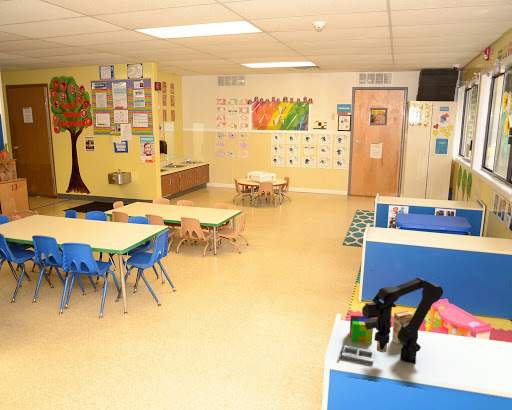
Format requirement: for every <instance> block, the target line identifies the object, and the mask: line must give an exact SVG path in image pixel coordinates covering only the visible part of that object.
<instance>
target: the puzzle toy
mask: <svg viewBox="0 0 512 410" xmlns="http://www.w3.org/2000/svg"><path fill="white" fill-rule="evenodd" d="M368 319H372V318H368ZM365 320H366V318H364V316H363V315H350V321H349V323H350V324H349V336H350V339H351V343H357V342H358V343H360V344H361V343H362V344H373V334H374V333H373V331H374V329H369V330H367V329H366V328H365Z"/></svg>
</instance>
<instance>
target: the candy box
mask: <svg viewBox="0 0 512 410" xmlns="http://www.w3.org/2000/svg"><path fill="white" fill-rule="evenodd" d="M413 315H414V313H412V312H411V311H409V310H405V311H400V312H395V313H394V314H393V322H392V324H393V325H392V326H393V327H392V336H391V341H392V342H393V343H395V344H397V345H398V344H401V343H400V341H399V340H398V332H399V331H400V329H401V327H402V326H403V327H405V326H407V325H408V324H409V322H410V320H411V319H412V317H413Z"/></svg>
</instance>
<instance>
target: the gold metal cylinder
mask: <svg viewBox="0 0 512 410" xmlns="http://www.w3.org/2000/svg"><path fill="white" fill-rule="evenodd" d="M387 349H388V343H387V344H386V345H385V347H384V349H383V350H380V345H379V341H376V351H377V352H379V353H386V352H387Z"/></svg>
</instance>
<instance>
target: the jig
mask: <svg viewBox="0 0 512 410" xmlns="http://www.w3.org/2000/svg"><path fill="white" fill-rule="evenodd" d="M346 342H347V341H346V340H345V341H343V344H342V347H341V349H340V357H339V359H342V360H346V361H351V362H356V363H357V362H358V363H360V364H361V363H362V364H365V365H372V366H373V365H374V359H375V355H376V352H375V351H376V350H372V349H367V348H361V347H356V346H351V345H346V344H347V343H346ZM345 352H350V353H355V355H353V354H349V353H345ZM360 354H361V355H365V356H370V358H367V357H364V356H360Z"/></svg>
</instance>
